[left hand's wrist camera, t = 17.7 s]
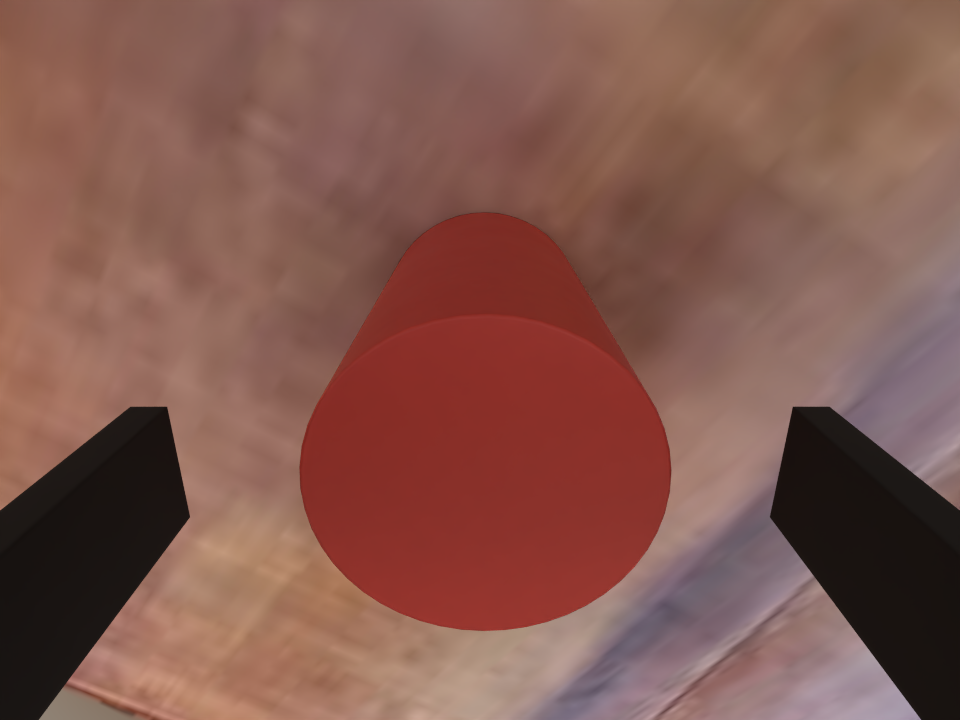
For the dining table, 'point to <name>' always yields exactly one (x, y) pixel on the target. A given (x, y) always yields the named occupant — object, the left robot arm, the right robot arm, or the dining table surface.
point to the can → (485, 438)
